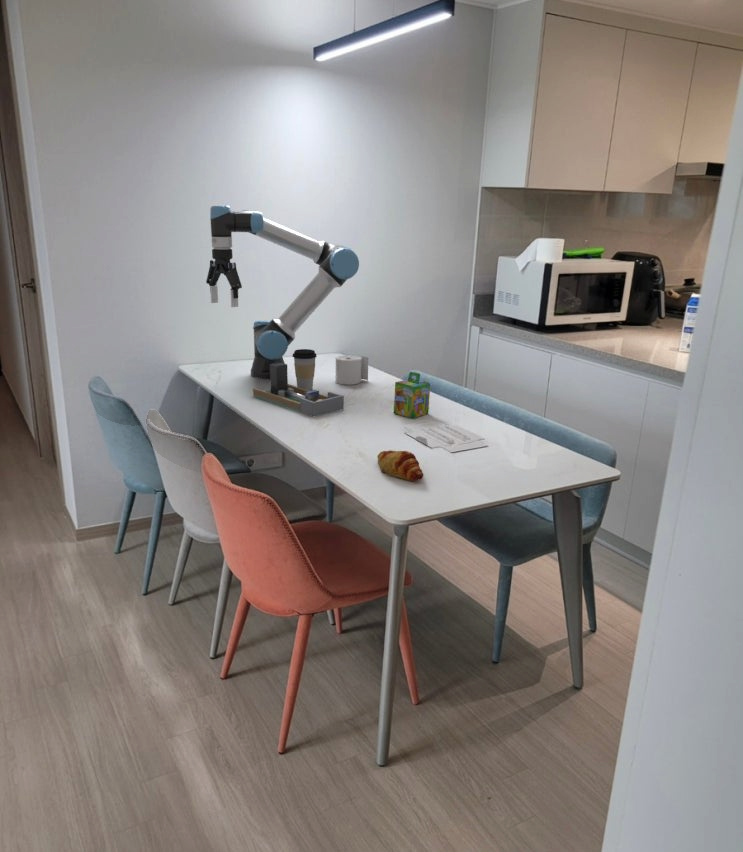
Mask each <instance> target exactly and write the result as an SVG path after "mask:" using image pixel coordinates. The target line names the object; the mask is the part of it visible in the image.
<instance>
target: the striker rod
mask: <svg viewBox="0 0 743 852" xmlns="http://www.w3.org/2000/svg"><path fill="white" fill-rule="evenodd" d="M284 363H285V362H284ZM284 363H275V364H270V379H269V380H270V384H269V385H270V390H271V393H272V394H275V395H278V391H279V390H283V391H285V395H288V396H291V397H294V398H297V399H300V398H304V399H307V400H310V401H313V402H316V401H317V400H318V399H319V394H320V390H318V389H311V390H309V391H307V392H305V396H304V395H301V394H297V393H294V392H291V391H288V390H287V389H288V382H289V381H288V380H289V379H288V363H285V364H284Z"/></svg>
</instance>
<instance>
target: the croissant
mask: <svg viewBox="0 0 743 852" xmlns="http://www.w3.org/2000/svg"><path fill="white" fill-rule="evenodd" d="M376 458H377V465H378V467H379V468H380V470H381V472H382V473H385V474H387V475H389V476H390V477H394V478H399V479H403V480H405V481H412V482H417V481H420V480H422V479H423V478H424V473H423V470H422V468H421V467H420V462H419V461H418V460H417V458H416V456H415V454H414V453H413V452H412V451H408V450H391V449H390V450H383V451H380V452H379V453H378V454H377V457H376Z"/></svg>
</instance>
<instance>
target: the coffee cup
mask: <svg viewBox="0 0 743 852" xmlns="http://www.w3.org/2000/svg"><path fill="white" fill-rule="evenodd" d="M291 357H293V360H294V361H293V362H294V363H293V364H294V371H295V372H294V374H295V377H296V387H299V388H302V389H305V390H309V391H312V390H313V386H314V377H315V371H316V358H317V353H316V351H315V349H310V348H309V349H306V348H301V349H300V348H298V349H295V350H294V352H293V353H292V356H291Z"/></svg>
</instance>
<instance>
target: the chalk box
mask: <svg viewBox="0 0 743 852" xmlns="http://www.w3.org/2000/svg"><path fill="white" fill-rule="evenodd" d="M413 377H415V378H413ZM407 378H408V379H403V380H398V381H396V382H395V385H394V399H393V400H394V402H393V414H395V415H399V416H402V417H406V418H408V419H412V420H413V419H416V418H419V417H422V416H426V415H429V410H430V396H431V395H430V394H431V383H430V382H427V381H425V380H420V378H421V374H420V373H419V372H418V373H417V372H413V371H409V374H408V377H407Z"/></svg>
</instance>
